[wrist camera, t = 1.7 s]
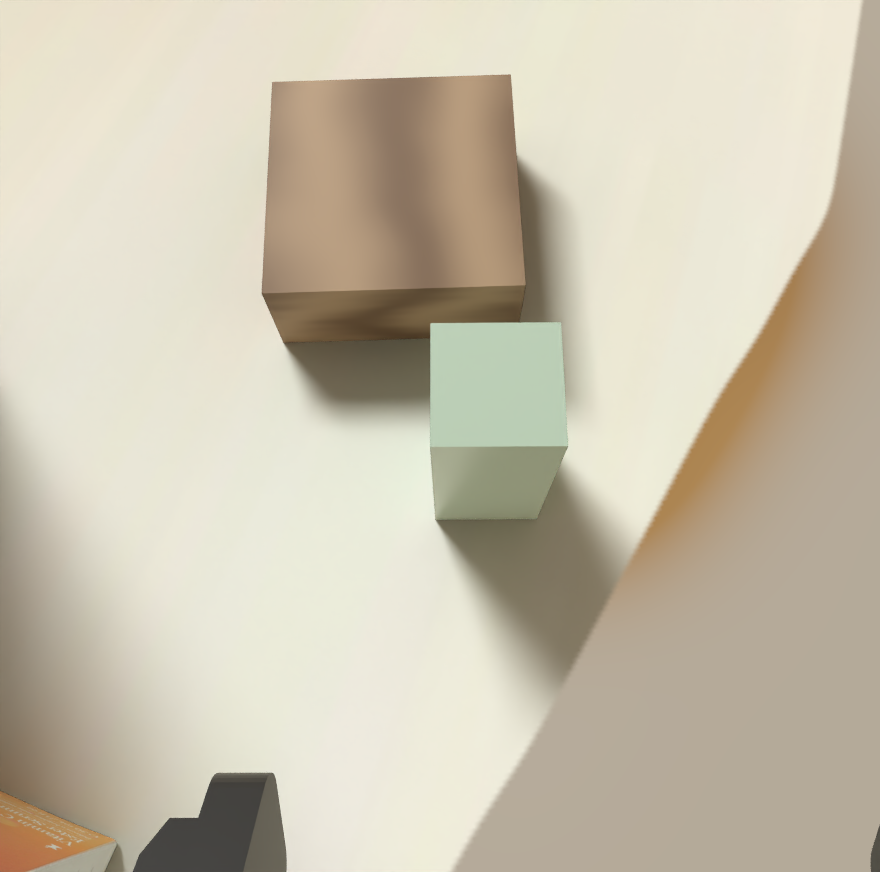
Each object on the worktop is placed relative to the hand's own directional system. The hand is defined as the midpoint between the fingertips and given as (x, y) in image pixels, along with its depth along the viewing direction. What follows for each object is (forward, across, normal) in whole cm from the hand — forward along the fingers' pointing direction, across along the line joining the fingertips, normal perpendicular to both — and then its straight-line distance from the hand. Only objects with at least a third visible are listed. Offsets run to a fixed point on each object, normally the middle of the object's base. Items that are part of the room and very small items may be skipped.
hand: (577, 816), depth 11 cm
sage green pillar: (+24, 0, +8) cm, 26 cm away
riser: (+33, +4, 0) cm, 33 cm away
